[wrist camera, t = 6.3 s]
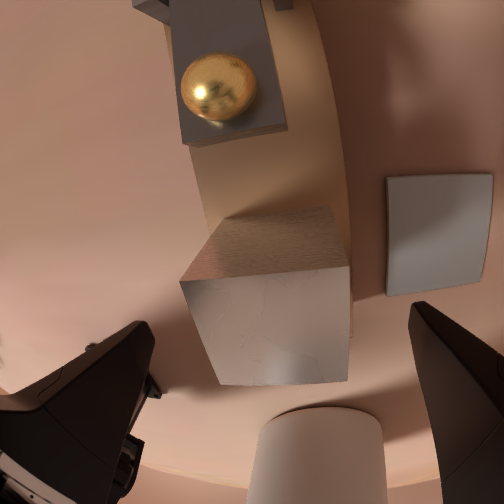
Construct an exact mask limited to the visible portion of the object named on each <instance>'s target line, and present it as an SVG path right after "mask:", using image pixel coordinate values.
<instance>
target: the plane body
mask: <svg viewBox="0 0 504 504" xmlns="http://www.w3.org/2000/svg"><path fill="white" fill-rule="evenodd" d="M261 4H262V7H263V11H264V15H265V19H266V23H267V28H268V32H269V36H270V40H271V45H272V49H273V54H274V58H275V63H276V68H277V72H278V77H279V82H280V87H281V92H282V97H283V103H284V108H285V113H286V119H287V124H288V130H289V131H285V132H278V133H272V134H265V135H260V136H254V137H248V138H243V139H238V140H233V141H228V142H223V143H218V144H214V145H209V146H205V147H200V148H196V147H193V146H189V145H188V146H189V150H190V154H191V159H192V163H193V167H194V171H195V175H196V179H197V184H198V188H199V192H200V196H201V200H202V204H203V208H204V212H205V215H206V219H207V223H208V227H209V231H210V235H212V234H213V232H214V231H215V229H216V228H217V227H218V225H219V224H220V222H221V221H222V220H223V219H225V218H232V217H239V216H246V215H253V214H261V213H269V212H277V211H285V210H293V209H301V208H310V207H319V206H328V205H331V208H332V211H333V214H334V217H335V220H336V224H337V227H338V230H339V233H340V236H341V240H342V243H343V246H344V250H345V253H346V256H347V260H348V263H349V274H350V336H349V338H352V304H353V292H352V250H351V230H350V215H349V203H348V192H347V181H346V172H345V164H344V156H343V148H342V141H341V134H340V127H339V121H338V115H337V109H336V103H335V98H334V93H333V88H332V83H331V78H330V73H329V68H328V64H327V59H326V55H325V51H324V47H323V43H322V39H321V35H320V31H319V27H318V24H317V20H316V17H315V13H314V10H313V7H312V3H311V0H261ZM132 6H133V8H135V9H137V10H139V11H141V12H143V13H145V14H147V15H149V16H151V17H153V18H155V19H157V20H158V21H160V22H162V23H164V29H165V35H166V40H167V45H168V51H169V56H170V61H171V66H172V71H173V76H174V65H173V54H172V42H171V29H170V13H169V0H132ZM174 81H175V76H174ZM175 86H176V85H175Z"/></svg>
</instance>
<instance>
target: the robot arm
mask: <svg viewBox="0 0 504 504" xmlns="http://www.w3.org/2000/svg"><path fill="white" fill-rule="evenodd" d="M408 330H409V334H410V339H411V344H412V349H413V354H414V360H415V365H416V370H417V374H418V377H419V381H420V384H421V388H422V392H423V395H424V399H425V403H426V407H427V411H428V415H429V419H430V424H431V428H432V433H433V438H434V443H435V448H436V453H437V459H438V465H439V472H440V479H441V482H442V483H441V487H442V495H443V504H504V356H502V355H501V354H500V353H498V352H497V351H496V350H494V349H493V348H491V347H490V346H489V345H487V344H486V343H485V342H483V341H482V340H480V339H479V338H478V337H476V336H475V335H473V334H472V333H471V332H469V331H468V330H466V329H465V328H463V327H462V326H461V325H459V324H458V323H456V322H455V321H453V320H452V319H450V318H449V317H447V316H446V315H444V314H443V313H441V312H440V311H439V310H437V309H436V308H434V307H433V306H431V305H429V304H428V303H426V302H425V301H419V302H414V303H412V305H411V309H410V316H409V322H408ZM154 345H155V338H154V336H153V334H152V332H151V330H150V328H149V325H148V324H147V322H146V321H134V322H132V323H131V324H129V325H128V326H126V327H124V328H123V329H121V330H120V331H118V332H116V333H115V334H113V335H112V336H110V337H108V338H107V339H105V340H104V341H102V342H100V343H99V344H97V345H96V346H91V345H87V347H86V348H85V350H86V352H85V353H83V354H81V355H80V356H78V357H77V358H75V359H73V360H72V361H70V362H69V363H67V364H65V365H64V366H62V367H61V368H59V369H57V370H56V371H54V372H52V373H51V374H49V375H48V376H46V377H44V378H42V379H40V380H39V381H37V382H35V383H33V384H31V385H29V386H28V387H26V388H24V389H22V390H20V391H18V392H16V393H14V394H11V395H0V504H117V502H118V501H119V499H120V498H123V497H125V496H126V495H127V494H128V493H129V491H130V490H131V489H132V487H133V485H134V482H135V480H136V476H137V472H138V468H139V464H140V460H141V455H142V451H143V447H144V443H145V442H144V441H142V440H141V439H137V438H136V437H134V436H132V435H131V434H130V432H131V430H132V427H133V425H134V423H135V421H136V419H137V417H138V415H139V413H140V411H141V409H142V407H143V405H144V403H145V401H146V399H147V397H150V398H156V399H160V398H161V396H162V393H161V392H160V390H159V388H158V387H157V385H156V384H155V382H154V381H153V379H152V378H151V376H150V374H149V373H148V368H149V364H150V360H151V356H152V353H153V349H154Z"/></svg>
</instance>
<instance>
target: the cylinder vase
mask: <svg viewBox="0 0 504 504" xmlns="http://www.w3.org/2000/svg"><path fill="white" fill-rule="evenodd" d="M246 504H388V502H387V481H386V467H385V455H384V445H383V436H382V428H381V425H380V423H379V422H378V421H377V419H375V418H374V417H373V416H371V415H370V414H368V413H365V412H363V411H359V410H355V409H350V408H342V407H318V408H308V409H302V410H297V411H293V412H289V413H286V414H283V415H281V416H278V417H276V418H274V419H273V420H271V421H270V422H268V423H267V424H266V425H265V426H264V427H263V428H262V430H261V431H260V434H259V438H258V444H257V449H256V455H255V460H254V465H253V470H252V475H251V481H250V486H249V490H248V496H247V500H246Z"/></svg>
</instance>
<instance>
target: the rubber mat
mask: <svg viewBox="0 0 504 504" xmlns="http://www.w3.org/2000/svg"><path fill="white" fill-rule="evenodd" d="M385 178H386V195H387V273H386V291H385V293H386V296H387V297H389V296H396V295H404V294H411V293H417V292H424V291H430V290H437V289H443V288H449V287H454V286H460V285H466V284H471V283H476V282H480V279H481V274H482V269H483V264H484V259H485V253H486V247H487V240H488V233H489V225H490V216H491V204H492V188H493V175H492V174H490V173H467V174H433V175H413V176H397V177H385Z"/></svg>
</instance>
